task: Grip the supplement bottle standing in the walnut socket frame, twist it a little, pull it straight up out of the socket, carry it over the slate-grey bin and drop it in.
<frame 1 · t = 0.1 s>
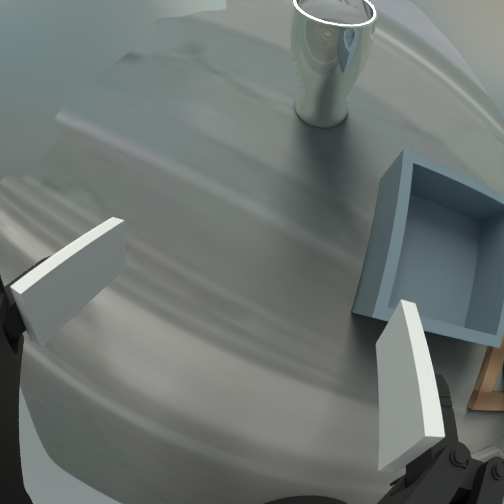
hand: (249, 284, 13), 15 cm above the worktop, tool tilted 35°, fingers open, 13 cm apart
beer glass: (320, 107, 30), on the worktop
bin: (428, 261, 26), on the worktop
tankard: (485, 476, 21), on the worktop
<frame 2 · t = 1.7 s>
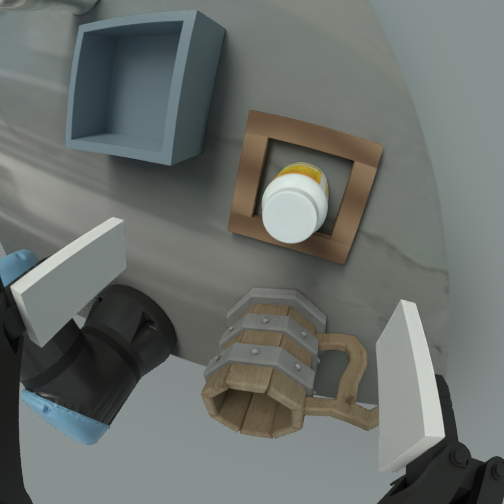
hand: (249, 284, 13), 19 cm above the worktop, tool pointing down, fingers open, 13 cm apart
supplement bottle: (302, 186, 29), resting in socket frame
socket frame: (302, 186, 29), on the worktop
bin: (155, 85, 28), on the worktop
tankard: (305, 328, 37), on the worktop
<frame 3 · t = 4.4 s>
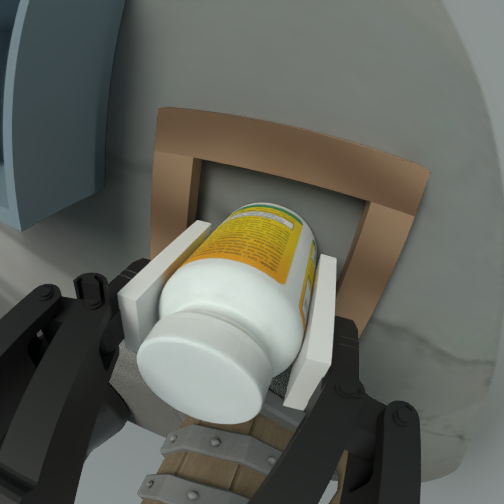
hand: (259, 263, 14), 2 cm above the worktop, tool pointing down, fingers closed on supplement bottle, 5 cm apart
supplement bottle: (268, 245, 16), resting in socket frame, touching gripper
socket frame: (267, 247, 16), on the worktop
bin: (45, 86, 15), on the worktop
tankard: (284, 424, 24), on the worktop
when the fingers open (10 cm above the worktop, at t = 10.2 s): supplement bottle drops 7 cm, resting on bin.
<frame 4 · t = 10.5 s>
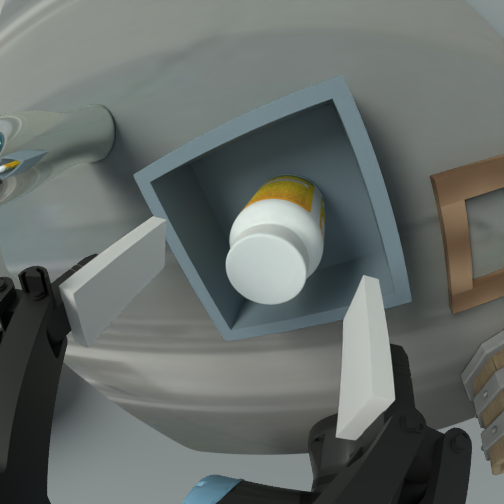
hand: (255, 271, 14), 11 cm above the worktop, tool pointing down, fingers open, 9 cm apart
supplement bottle: (290, 205, 22), point 1 cm above the worktop, touching bin
socket frame: (502, 228, 19), on the worktop
beer glass: (95, 132, 25), on the worktop
bin: (289, 201, 23), on the worktop
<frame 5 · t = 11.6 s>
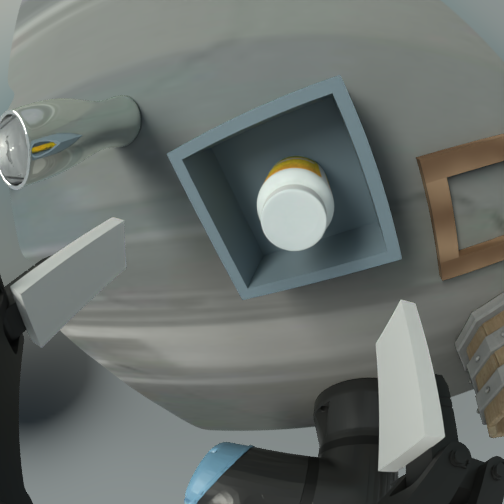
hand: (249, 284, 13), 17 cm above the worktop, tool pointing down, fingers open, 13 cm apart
supplement bottle: (297, 182, 26), point 1 cm above the worktop, touching bin
socket frame: (483, 204, 22), on the worktop
beer glass: (121, 120, 28), on the worktop
bin: (296, 179, 27), on the worktop
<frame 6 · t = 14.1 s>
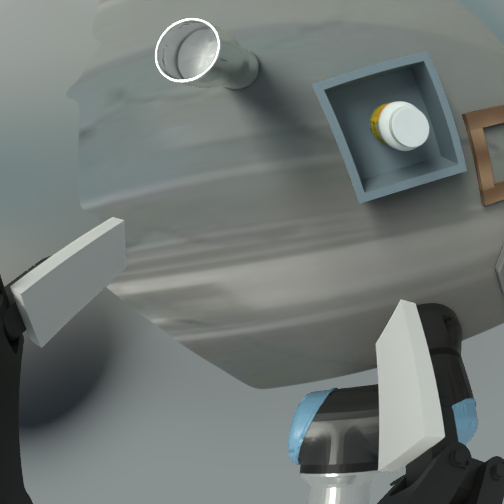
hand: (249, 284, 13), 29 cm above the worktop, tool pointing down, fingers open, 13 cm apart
supplement bottle: (388, 123, 31), point 1 cm above the worktop, touching bin
beer glass: (237, 68, 34), on the worktop
bin: (385, 123, 32), on the worktop
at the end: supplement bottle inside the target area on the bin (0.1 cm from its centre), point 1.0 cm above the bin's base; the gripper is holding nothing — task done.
